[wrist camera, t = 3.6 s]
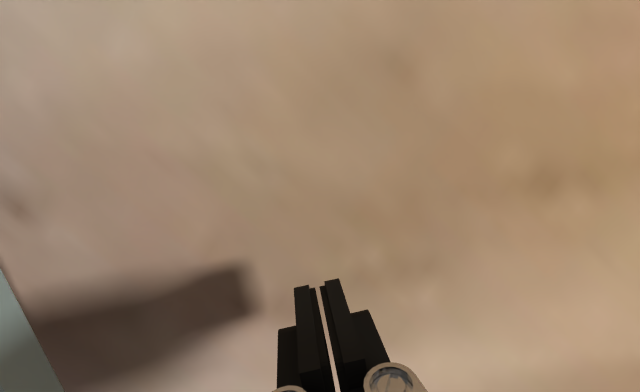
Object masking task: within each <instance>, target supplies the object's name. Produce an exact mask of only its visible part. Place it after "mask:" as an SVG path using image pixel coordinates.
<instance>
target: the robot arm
mask: <svg viewBox="0 0 640 392" xmlns="http://www.w3.org/2000/svg"><path fill="white" fill-rule="evenodd" d="M324 282H325V286H320V291H321V296H322V301H323V306H324V311H325V316H326V321H327V326H328V331H329V336H330V341H331V346H332V351H333V356H334V361H335V366H336V371H337V376H338V381H339V386H340V391H341V392H427V390H426V389H425V387H424V386H423V384H422V383H421V382H420V380H419V379H418V377H417V376H416V375H415V374H414V373H413V371H412V370H411V369H409V368H408V367H406V366H404V365H402V364H398V363H392V362H390V360H389V357H388V355H387V353H386V350H385V348H384V346H383V343H382V341H381V338H380V336H379V334H378V331H377V329H376V327H375V324H374V322H373V320H372V317H371V315H370V313H369V311H368V310H364V311H359V312H355V313H350V311H349V308H348V305H347V302H346V299H345V296H344V293H343V290H342V287H341V284H340V281H339V278H338V279H333V280H329V281H324ZM294 297H295V314H296V326H292V327H287V328H283V329H279V330H278V360H277V389H276V390H274V391H272V392H335V386H334V381H333V376H332V370H331V365H330V359H329V354H328V349H327V344H326V339H325V334H324V329H323V324H322V320H321V315H320V310H319V305H318V300H317V295H316V290H315V288H311V289H309V285H306V286H301V287H296V288H294Z"/></svg>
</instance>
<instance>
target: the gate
mask: <svg viewBox="0 0 640 392" xmlns="http://www.w3.org/2000/svg"><path fill="white" fill-rule="evenodd" d="M0 392H65V391H64V390H63V388H62V386H61V384H60V382H59V380H58V378H57V376H56V374H55V372H54V370H53V368H52V367H51V365H50V363H49V361H48V359H47V357H46V355H45V353H44V351H43V349H42V347H41V346H40V344H39V342H38V340H37V338H36V336H35V334H34V332H33V330H32V328H31V326H30V324H29V323H28V321H27V319H26V317H25V315H24V313H23V311H22V309H21V307H20V305H19V303H18V301H17V300H16V298H15V296H14V294H13V292H12V290H11V288H10V286H9V284H8V282H7V280H6V278H5V277H4V275H3V273H2V271H1V269H0Z"/></svg>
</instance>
